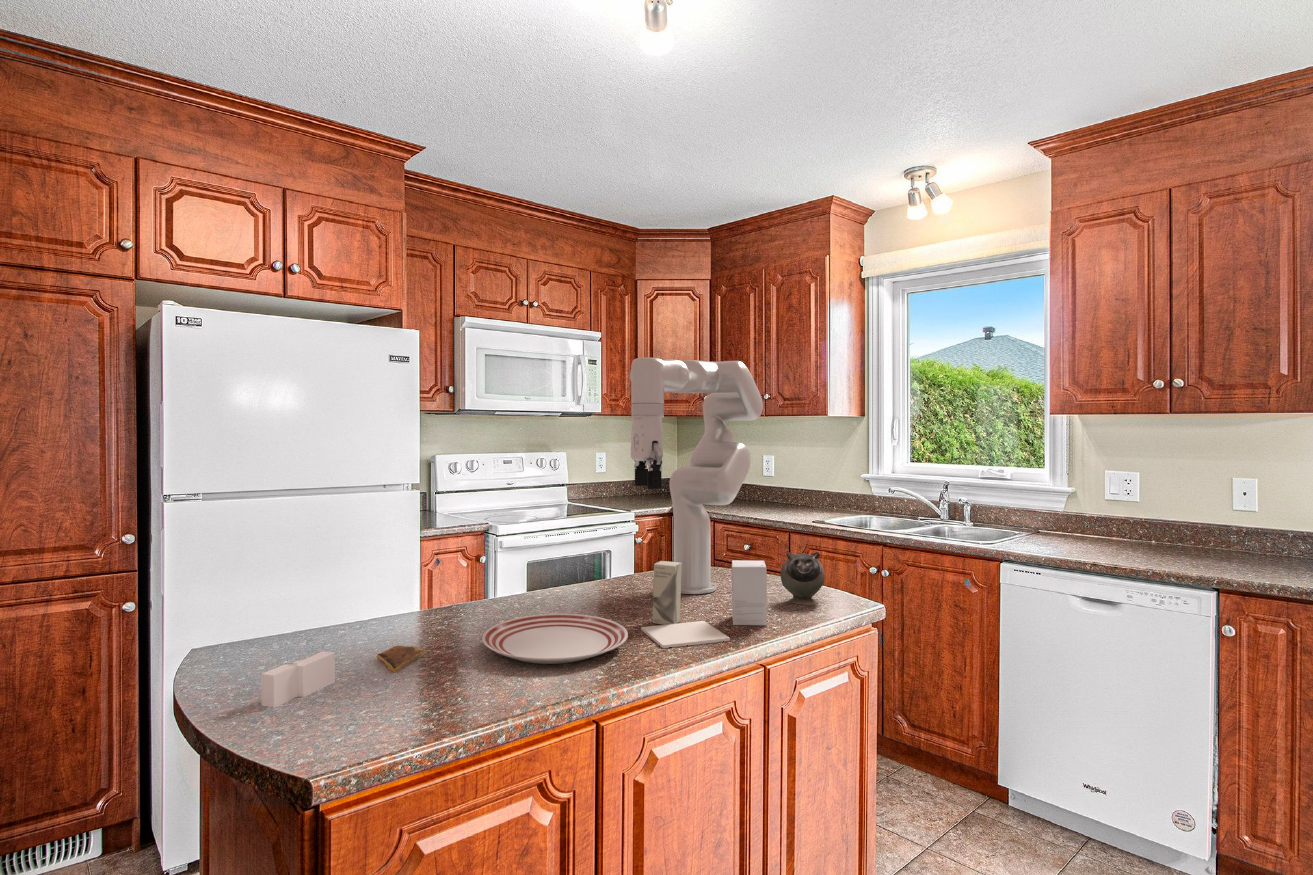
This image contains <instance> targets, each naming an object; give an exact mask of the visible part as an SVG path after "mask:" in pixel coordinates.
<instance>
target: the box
mask: <svg viewBox="0 0 1313 875" xmlns="http://www.w3.org/2000/svg"><path fill="white" fill-rule="evenodd" d="M681 566H682V563H679V562H674V561H665V560H659V561H657V562H655V563H654V564H653V583H652V586H653V587H652V588H653V589H652V591H653V592H652V623H653V624H657V625H668V624H678V623H679V622H680V621H681V598H682V597H681V594H682V593H681Z"/></svg>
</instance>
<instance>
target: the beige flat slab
mask: <svg viewBox="0 0 1313 875" xmlns="http://www.w3.org/2000/svg"><path fill="white" fill-rule="evenodd" d="M640 630H641V632H643V633H644V634H645V635H646V636H648V637H649V638H650V639H651V640H653V641H654V643H656V644H657V645H658V646H659V645H660V647H661V648H662V649H670V648H669V647H672V648H679V647H687V645H688V646H689V647H690V646H697V645H704V644H714V643H722V642H723V641H724V642H730V641H731V638H730V637H729V636H728V635H726V633H723V632H722V631H720V630H719V629H717V628H715V627H714V626H712V625H711V624H710V623H708V622H706V621H704V620H699V621H697V620H696V621H690V622H689V621H687V622H681V623H679V622H678V623H677V624H668V625H663V624H657V625H651V626H641V628H640ZM724 642H723V643H724Z"/></svg>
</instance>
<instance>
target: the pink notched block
mask: <svg viewBox="0 0 1313 875" xmlns="http://www.w3.org/2000/svg"><path fill="white" fill-rule="evenodd" d="M335 654H336V652H330V651H321V652H318V653H316V654H313V655H311V656H309V657H306V658H304V659H302V660H295V661H293V662H292V664H286V663H285V664H282V665H280V666H277V667H275V668H273V669H270V670H268V671H266V672H262V673H261V680H260V681H261V706H262V707H270V708H277V707H278V706H281V705H283V704H284V703H286V702H289V701H291V700H293V699H296V698H297V697H298V698H299V697H301V698H305V697H307V696H309V695H311V694H313V693H316V692H317V691H320V690H322V689H324V688H326V687H328V686H329V685H332V684H334V683H335V682H336V672H335V671H336V670H335V669H336V666H335V665H336V663H335V662H336V661H335V660H336V659H335V658H336V655H335Z"/></svg>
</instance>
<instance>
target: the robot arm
mask: <svg viewBox="0 0 1313 875" xmlns="http://www.w3.org/2000/svg"><path fill="white" fill-rule="evenodd" d="M629 380H630V383H631V388H630V389H631V390H630V392H631V394H630V395H631V397H630V398H631V400H630V401H631V409H630V411H631V413H630V414H631V419H632V423H631V436H630V459H632V460H633V461H634V486H635V487H646V486H647V489H648V490H660V489H662V486H663V485H662V483H663V482H662V471H663V467H662V465H663V457H664V435H663V434H664V433H663V432H664V431H663V419H664V418H665V416H664V415H665V393H674V394H675V393H677V394H707V395H706V396H705V398H704V400H703V404H702V413H703V422H704V432H703V433H704V434H703V435H702V437H701V438H700V439H699V440H700V441H699V442H698V444H697V445H696V447H695V448H694V450H693V452H692V454H691V456H690V459H689V465H690V466H689V465H688V466H682V467H679V468H677V469H675V470H674V471H673V472H672V473H671V475H670V478H669V491H670V496H671V502H672V513H673V562H679V563H682V566H681V594H683V595H701V594H702V595H703V594H710V593H713V592H715V591H716V590H717V588H718V586H717V584H716V583H715V582H713V581H711V580H712V579H711V578H712V577H711V572H712V571H711V568H712V567H711V563H712V562H711V560H712V557H711V552H712V550H711V549H712V548H711V546H712V545H711V533H712V531H711V529H712V528H711V519H710V516H709V514H708V512H707V510H706V508H705V506H704V505H708V506H709V505H710V506H727V505H729V504H731V503H733V501H734V500H735V498H736V497H737V495H738V494H739V491H740V490H741V487H742V485H743V483H744V482H745V479H746V478H747V476H748V474H749V470H750V467H751V452H750V450H749V449H748V446H746V445H745V444H744V443H742V442H739V441H735V437H734V434H733V432H732V430H731V429H730V427H728V425H726V422H737V421H738V422H750V421H756V420H758V419H759V418H760V417H761V415H762V414H763V410H764V403H763V398H762V395H761V392H760V390H759V388H758V386H757V384H756V382H755V380H754V377H753V376H752V373H751V371H750V370H749V368H748V367H747V366H746V364H744V363H743V361H740V360H724V361H708V360H707V361H706V360H695V359H685V360H679V359H675V358H670V359H668V358H667V359H661V358H657V357H647V356H646V357H645V356H644V357H638V358H635V359H633V360H632V361H631V368H630V372H629Z"/></svg>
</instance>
